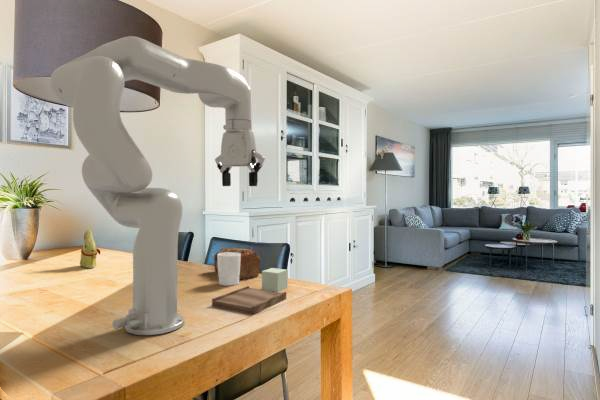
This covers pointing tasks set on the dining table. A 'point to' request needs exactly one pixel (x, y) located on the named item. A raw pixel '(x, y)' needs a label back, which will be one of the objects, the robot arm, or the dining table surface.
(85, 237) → the asparagus bundle
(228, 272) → the white cup
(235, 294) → the board
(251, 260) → the bread
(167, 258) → the robot arm
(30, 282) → the dining table surface
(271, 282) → the sage block
